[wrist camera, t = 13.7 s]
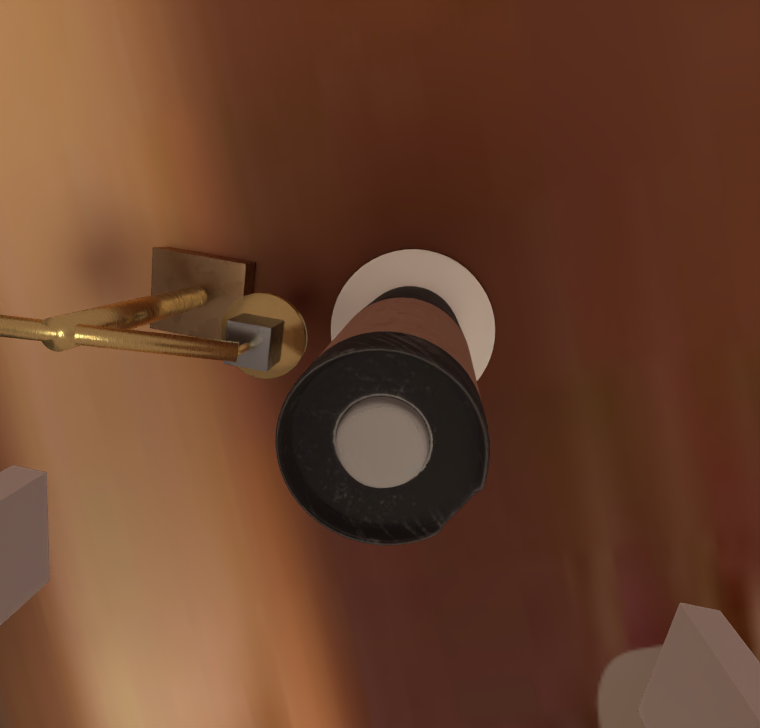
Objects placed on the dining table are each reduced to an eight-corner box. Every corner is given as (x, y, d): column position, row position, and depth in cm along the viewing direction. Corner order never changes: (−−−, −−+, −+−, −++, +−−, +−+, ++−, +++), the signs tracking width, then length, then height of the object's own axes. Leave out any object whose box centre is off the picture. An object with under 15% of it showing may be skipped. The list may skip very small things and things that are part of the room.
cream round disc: (324, 390, 39) (321, 394, 38) (345, 236, 36) (342, 236, 35) (474, 418, 38) (475, 424, 37) (509, 264, 35) (512, 265, 34)
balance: (84, 308, 40) (-190, 367, 22) (84, 232, 38) (-213, 231, 21) (331, 354, 38) (246, 455, 21) (342, 277, 37) (259, 318, 19)
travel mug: (351, 287, 35) (252, 353, 16) (458, 275, 34) (486, 331, 15) (364, 388, 37) (290, 553, 18) (466, 379, 36) (500, 546, 17)
